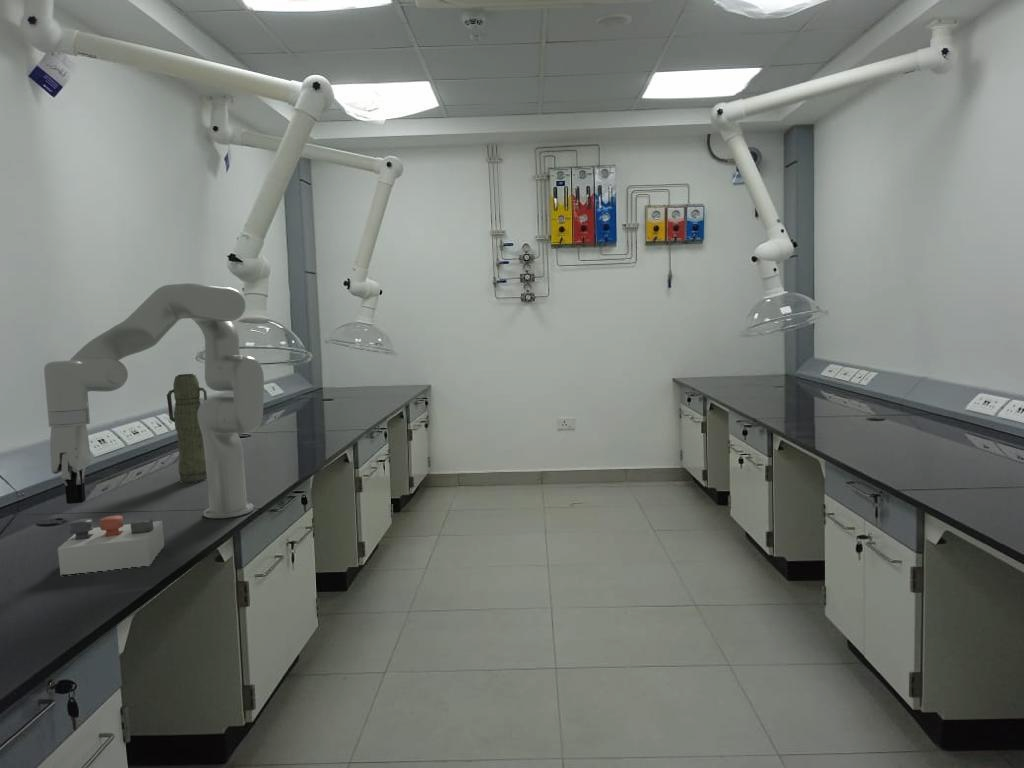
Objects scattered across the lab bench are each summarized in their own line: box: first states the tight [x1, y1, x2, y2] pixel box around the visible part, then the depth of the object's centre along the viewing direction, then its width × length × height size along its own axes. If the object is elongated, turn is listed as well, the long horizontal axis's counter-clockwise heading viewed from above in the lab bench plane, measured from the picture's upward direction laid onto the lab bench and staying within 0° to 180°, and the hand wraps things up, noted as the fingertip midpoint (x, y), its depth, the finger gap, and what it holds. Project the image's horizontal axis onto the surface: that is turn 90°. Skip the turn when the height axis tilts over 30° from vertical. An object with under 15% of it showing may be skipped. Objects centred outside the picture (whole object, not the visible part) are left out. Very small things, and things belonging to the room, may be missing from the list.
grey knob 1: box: [68, 517, 94, 540], centre depth 155 cm, size 4×4×6 cm
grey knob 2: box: [130, 518, 154, 534], centre depth 158 cm, size 4×4×6 cm
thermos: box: [166, 373, 208, 483], centre depth 233 cm, size 9×12×35 cm
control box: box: [57, 520, 165, 576], centre depth 156 cm, size 14×17×6 cm
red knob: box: [99, 515, 124, 537], centre depth 156 cm, size 4×4×6 cm
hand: (76, 502), depth 153 cm, fingers closed
